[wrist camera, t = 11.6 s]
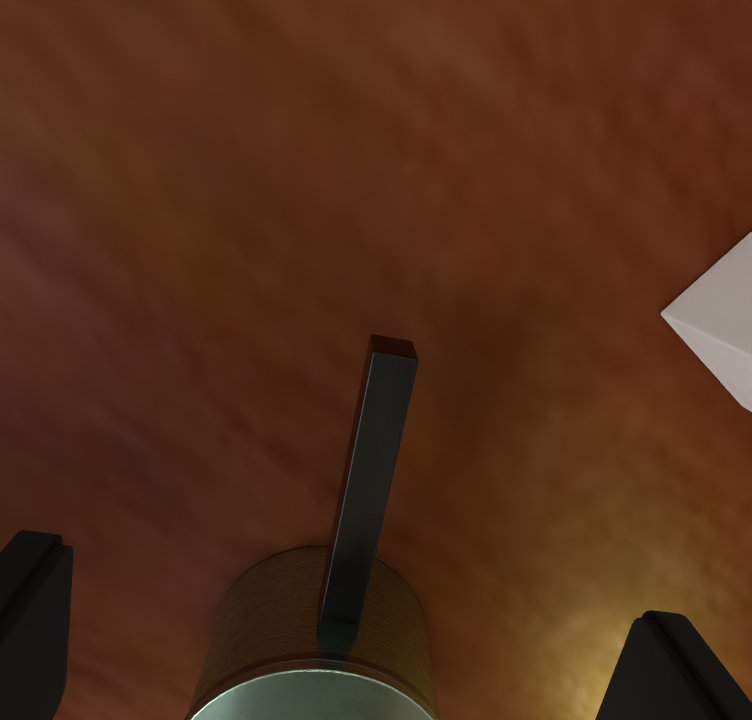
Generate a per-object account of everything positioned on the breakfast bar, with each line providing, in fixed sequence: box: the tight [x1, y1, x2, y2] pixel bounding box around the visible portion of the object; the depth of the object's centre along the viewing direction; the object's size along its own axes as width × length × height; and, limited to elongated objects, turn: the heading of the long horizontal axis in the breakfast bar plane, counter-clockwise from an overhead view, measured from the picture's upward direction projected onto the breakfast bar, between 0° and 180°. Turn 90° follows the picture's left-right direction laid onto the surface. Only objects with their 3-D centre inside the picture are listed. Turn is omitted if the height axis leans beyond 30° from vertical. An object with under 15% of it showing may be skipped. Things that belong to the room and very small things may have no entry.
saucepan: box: [184, 334, 441, 720], centre depth 24 cm, size 21×10×9 cm, turn 169°
